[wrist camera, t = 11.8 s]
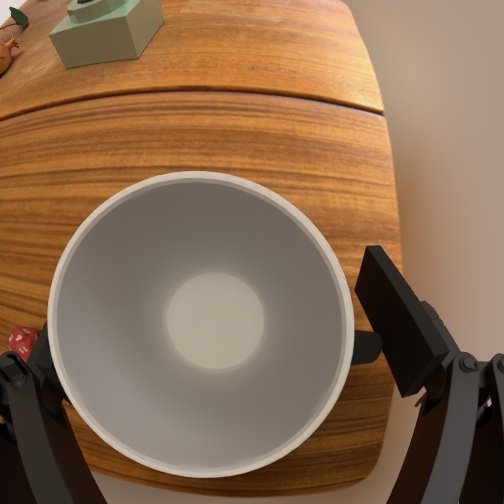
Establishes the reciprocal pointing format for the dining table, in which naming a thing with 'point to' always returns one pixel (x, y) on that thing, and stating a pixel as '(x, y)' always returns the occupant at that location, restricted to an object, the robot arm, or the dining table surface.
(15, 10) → the flower
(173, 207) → the mug
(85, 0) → the cap
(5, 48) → the fruit
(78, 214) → the dining table surface
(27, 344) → the die
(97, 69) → the dining table surface
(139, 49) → the push button box
